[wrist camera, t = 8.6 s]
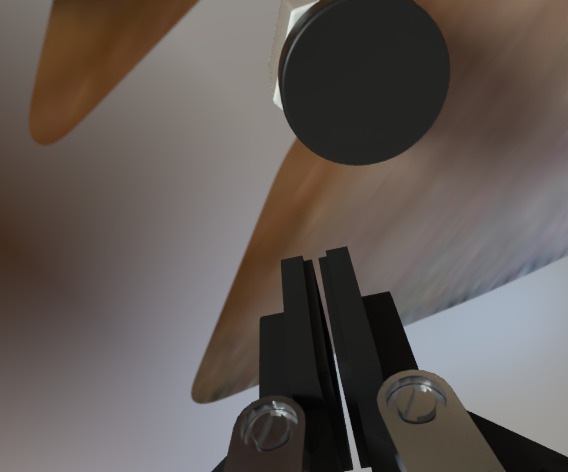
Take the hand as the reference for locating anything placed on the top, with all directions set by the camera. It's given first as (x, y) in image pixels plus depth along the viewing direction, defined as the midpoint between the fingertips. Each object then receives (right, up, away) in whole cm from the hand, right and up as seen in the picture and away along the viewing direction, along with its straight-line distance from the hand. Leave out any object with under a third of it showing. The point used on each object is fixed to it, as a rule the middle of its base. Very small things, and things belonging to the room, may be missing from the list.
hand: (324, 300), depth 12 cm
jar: (+2, +15, +21) cm, 26 cm away
